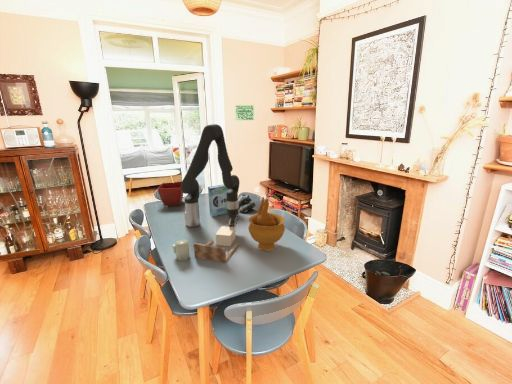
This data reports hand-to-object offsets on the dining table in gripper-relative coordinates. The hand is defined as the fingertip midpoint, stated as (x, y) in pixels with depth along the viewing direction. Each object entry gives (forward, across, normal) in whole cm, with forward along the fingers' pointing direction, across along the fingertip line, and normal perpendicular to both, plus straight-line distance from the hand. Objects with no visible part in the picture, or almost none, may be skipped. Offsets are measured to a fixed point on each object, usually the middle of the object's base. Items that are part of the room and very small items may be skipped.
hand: (233, 231), depth 167 cm
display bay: (+2, +24, -1) cm, 24 cm away
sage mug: (+2, +34, -16) cm, 38 cm away
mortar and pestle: (+2, +9, +25) cm, 26 cm away
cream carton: (+2, +10, -1) cm, 10 cm away
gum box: (+2, -32, -23) cm, 39 cm away
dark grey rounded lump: (+2, -43, -8) cm, 44 cm away
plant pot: (+2, -41, -74) cm, 84 cm away
